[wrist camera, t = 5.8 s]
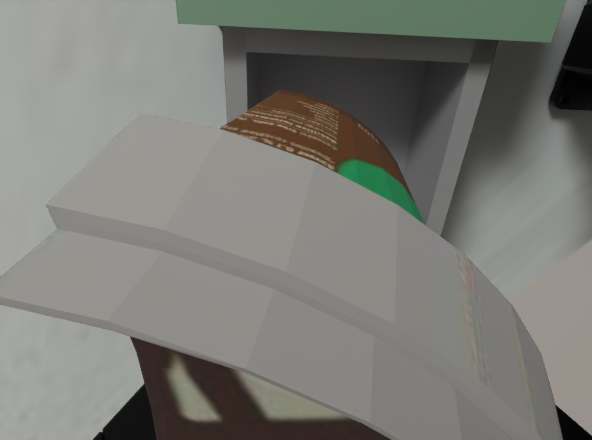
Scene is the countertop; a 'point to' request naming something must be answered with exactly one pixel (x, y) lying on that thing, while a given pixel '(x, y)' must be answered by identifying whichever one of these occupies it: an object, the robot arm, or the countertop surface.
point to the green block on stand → (378, 68)
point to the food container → (283, 286)
